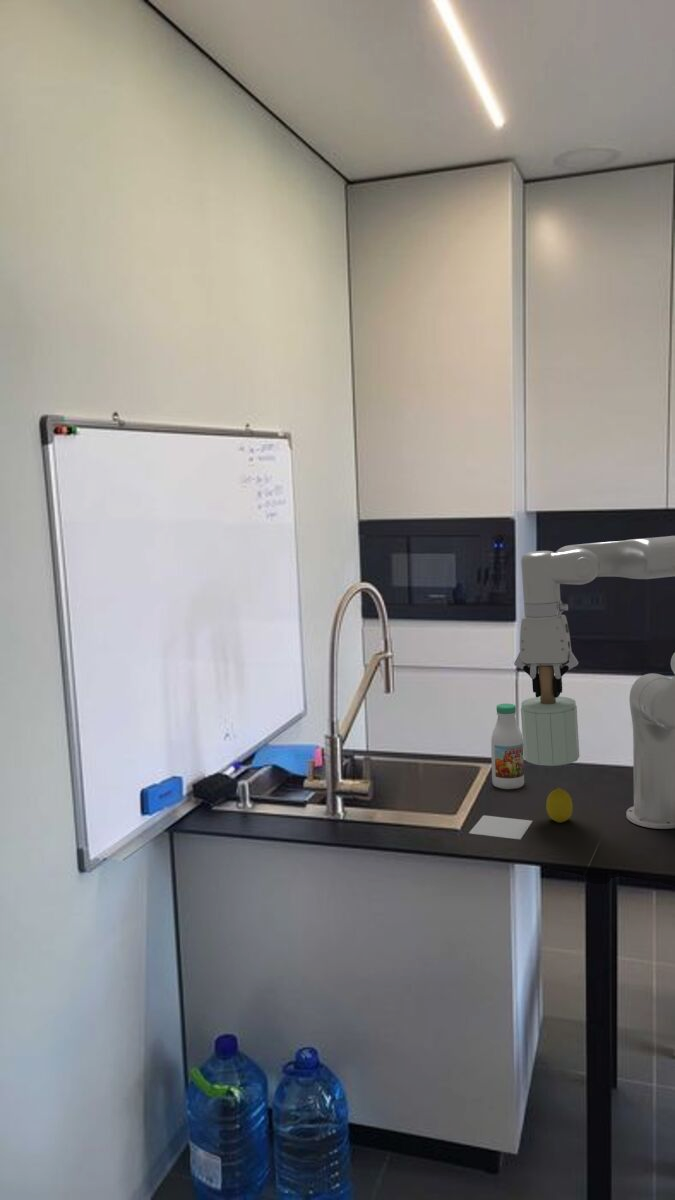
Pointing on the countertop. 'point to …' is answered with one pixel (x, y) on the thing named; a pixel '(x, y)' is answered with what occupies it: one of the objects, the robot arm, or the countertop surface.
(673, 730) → the robot arm
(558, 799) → the lemon
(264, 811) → the countertop surface
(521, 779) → the milk bottle
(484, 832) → the mat
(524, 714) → the cylinder with wooden dowel
